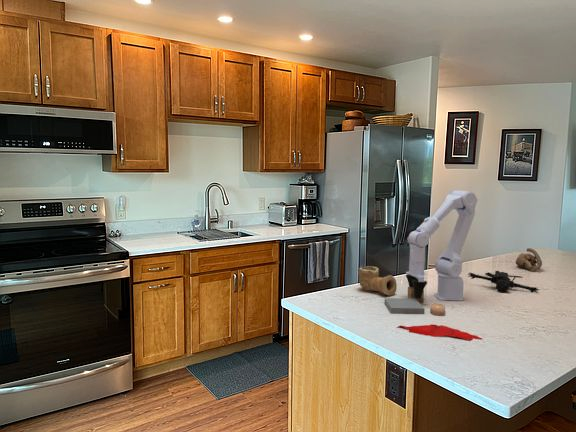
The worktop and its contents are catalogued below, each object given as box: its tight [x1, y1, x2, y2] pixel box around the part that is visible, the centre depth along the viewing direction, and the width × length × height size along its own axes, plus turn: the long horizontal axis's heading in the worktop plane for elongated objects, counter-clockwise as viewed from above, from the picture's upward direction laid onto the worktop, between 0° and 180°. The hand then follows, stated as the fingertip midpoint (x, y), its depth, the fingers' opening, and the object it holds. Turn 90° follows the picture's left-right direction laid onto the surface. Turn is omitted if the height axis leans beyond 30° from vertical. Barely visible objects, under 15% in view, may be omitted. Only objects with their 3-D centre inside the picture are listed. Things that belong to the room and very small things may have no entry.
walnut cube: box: [407, 286, 425, 304], centre depth 170 cm, size 5×5×5 cm
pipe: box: [357, 265, 398, 297], centre depth 181 cm, size 9×16×10 cm, turn 45°
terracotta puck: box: [429, 303, 446, 317], centre depth 155 cm, size 5×5×3 cm
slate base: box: [383, 297, 426, 315], centre depth 160 cm, size 12×12×2 cm
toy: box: [467, 270, 540, 294], centre depth 195 cm, size 29×7×30 cm
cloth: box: [396, 324, 483, 342], centre depth 137 cm, size 26×14×2 cm, turn 58°
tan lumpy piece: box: [515, 247, 543, 273], centre depth 228 cm, size 13×9×15 cm
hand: (415, 295), depth 170 cm, fingers open, 7 cm apart
